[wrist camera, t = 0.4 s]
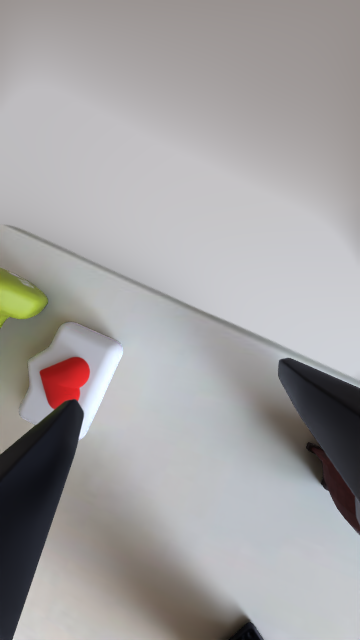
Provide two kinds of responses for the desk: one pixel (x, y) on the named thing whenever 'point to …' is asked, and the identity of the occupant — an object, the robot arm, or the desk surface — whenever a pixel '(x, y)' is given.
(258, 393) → the desk surface
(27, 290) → the dumbbell
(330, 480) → the mate gourd
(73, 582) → the desk surface
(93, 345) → the icon
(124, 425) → the desk surface
